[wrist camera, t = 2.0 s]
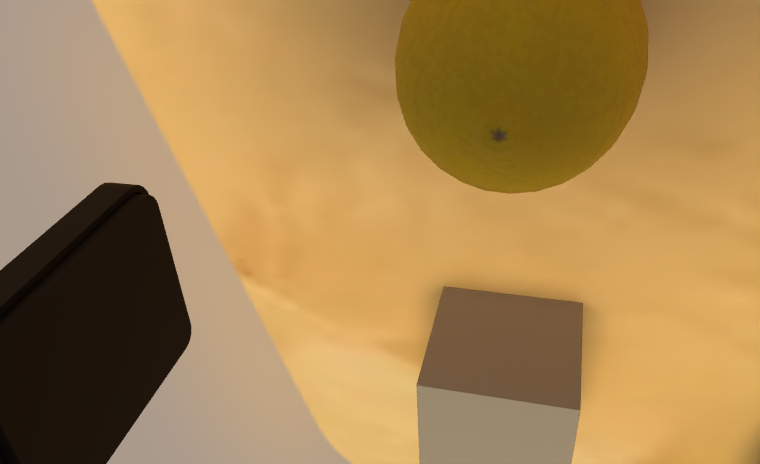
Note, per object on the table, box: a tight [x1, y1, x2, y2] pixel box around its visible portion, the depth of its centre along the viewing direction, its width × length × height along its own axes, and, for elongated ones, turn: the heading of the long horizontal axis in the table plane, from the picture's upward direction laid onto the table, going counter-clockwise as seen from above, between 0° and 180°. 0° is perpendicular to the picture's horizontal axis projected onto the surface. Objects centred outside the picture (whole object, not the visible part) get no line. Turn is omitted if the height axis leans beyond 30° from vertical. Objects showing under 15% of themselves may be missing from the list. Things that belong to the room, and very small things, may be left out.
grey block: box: [417, 287, 583, 464], centre depth 24 cm, size 5×5×5 cm
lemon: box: [395, 0, 648, 193], centre depth 15 cm, size 6×6×8 cm
